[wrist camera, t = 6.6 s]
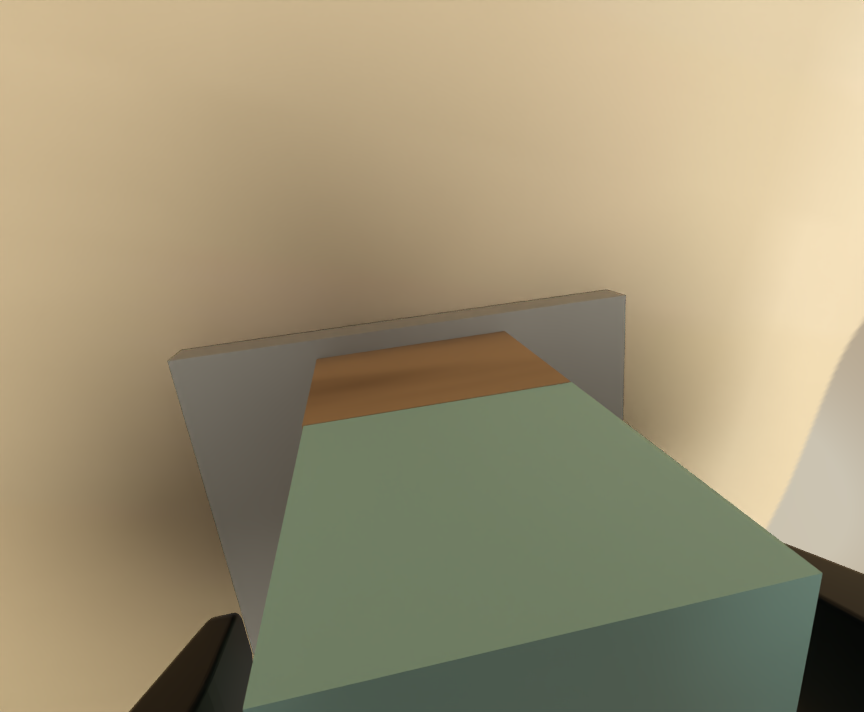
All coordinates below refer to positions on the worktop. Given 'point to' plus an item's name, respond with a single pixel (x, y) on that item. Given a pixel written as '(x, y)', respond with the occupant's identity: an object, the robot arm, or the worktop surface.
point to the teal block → (521, 572)
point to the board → (289, 389)
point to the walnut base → (423, 376)
